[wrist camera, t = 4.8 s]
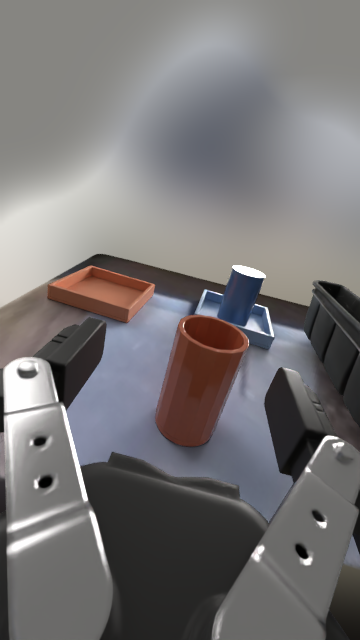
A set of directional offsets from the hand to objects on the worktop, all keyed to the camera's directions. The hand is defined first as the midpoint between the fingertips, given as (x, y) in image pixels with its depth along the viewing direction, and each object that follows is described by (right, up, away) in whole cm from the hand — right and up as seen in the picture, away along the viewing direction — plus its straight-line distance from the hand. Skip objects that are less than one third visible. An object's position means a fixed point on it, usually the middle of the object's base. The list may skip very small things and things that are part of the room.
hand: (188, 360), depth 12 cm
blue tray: (+10, +2, +42) cm, 43 cm away
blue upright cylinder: (+10, +2, +42) cm, 43 cm away
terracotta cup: (0, -9, +16) cm, 18 cm away
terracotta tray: (-14, +6, +39) cm, 42 cm away
